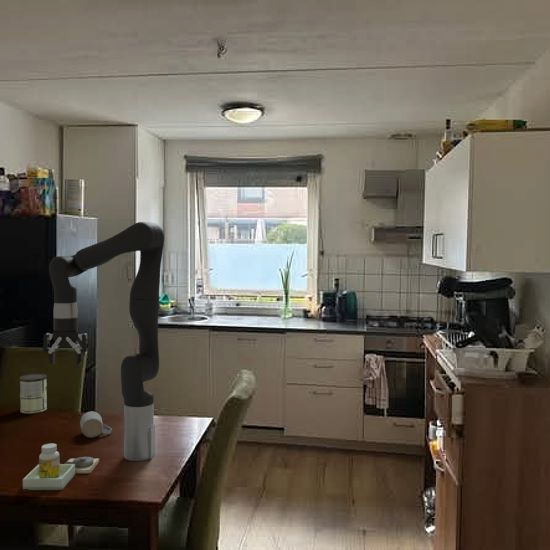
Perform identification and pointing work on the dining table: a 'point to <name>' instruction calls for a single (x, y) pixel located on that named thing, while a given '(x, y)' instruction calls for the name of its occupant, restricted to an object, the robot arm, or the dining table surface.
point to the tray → (49, 479)
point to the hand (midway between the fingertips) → (66, 364)
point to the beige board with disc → (83, 464)
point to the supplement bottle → (49, 462)
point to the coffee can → (33, 393)
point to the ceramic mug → (93, 425)
